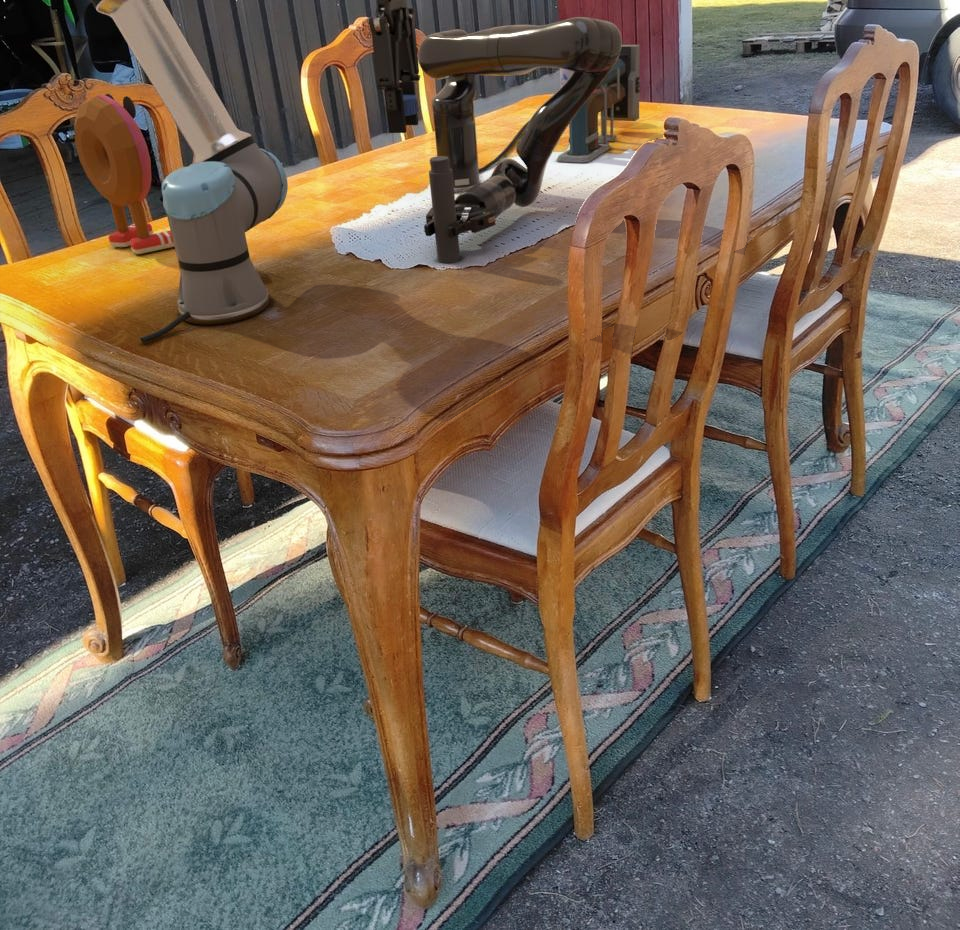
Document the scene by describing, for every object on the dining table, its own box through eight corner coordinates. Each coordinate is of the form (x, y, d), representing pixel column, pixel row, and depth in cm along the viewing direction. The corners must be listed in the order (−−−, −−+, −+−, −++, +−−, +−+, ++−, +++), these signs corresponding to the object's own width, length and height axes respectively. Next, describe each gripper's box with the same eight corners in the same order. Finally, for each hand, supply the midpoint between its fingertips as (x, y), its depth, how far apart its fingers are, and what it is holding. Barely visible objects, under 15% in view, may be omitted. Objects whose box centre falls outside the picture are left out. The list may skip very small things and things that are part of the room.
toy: (192, 246, 198) (156, 92, 183) (148, 260, 192) (107, 102, 177) (139, 230, 212) (102, 85, 196) (96, 243, 205) (54, 95, 190)
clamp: (587, 162, 233) (585, 68, 223) (554, 161, 237) (551, 68, 226) (639, 130, 259) (639, 44, 248) (608, 129, 263) (607, 44, 252)
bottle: (435, 257, 181) (425, 157, 172) (457, 254, 182) (448, 154, 173) (439, 264, 178) (429, 162, 168) (462, 261, 179) (453, 159, 169)
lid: (417, 115, 151) (415, 99, 150) (385, 117, 152) (384, 101, 150) (419, 109, 156) (417, 93, 154) (388, 111, 156) (386, 95, 155)
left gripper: (389, -31, 135) (406, 141, 146) (431, -41, 149) (443, 116, 161) (339, -28, 137) (360, 141, 149) (385, -39, 151) (401, 116, 163)
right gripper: (446, 183, 189) (402, 208, 176) (512, 187, 183) (472, 213, 170) (449, 221, 193) (406, 249, 180) (514, 226, 187) (475, 255, 174)
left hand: (403, 128), depth 155 cm, fingers closed on lid, 5 cm apart
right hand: (438, 231), depth 175 cm, fingers closed on bottle, 4 cm apart
